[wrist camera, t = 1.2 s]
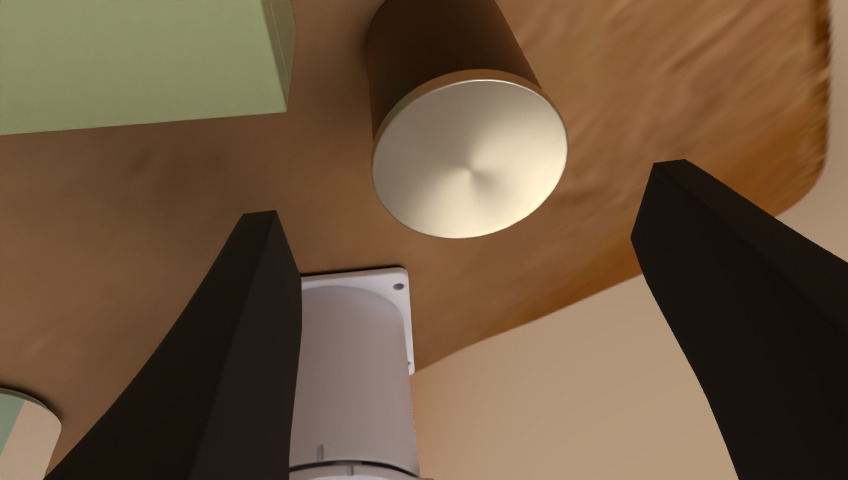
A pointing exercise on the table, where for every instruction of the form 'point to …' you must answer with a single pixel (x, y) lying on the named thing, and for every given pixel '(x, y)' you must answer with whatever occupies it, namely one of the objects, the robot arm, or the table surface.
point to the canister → (458, 119)
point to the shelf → (141, 61)
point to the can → (25, 436)
